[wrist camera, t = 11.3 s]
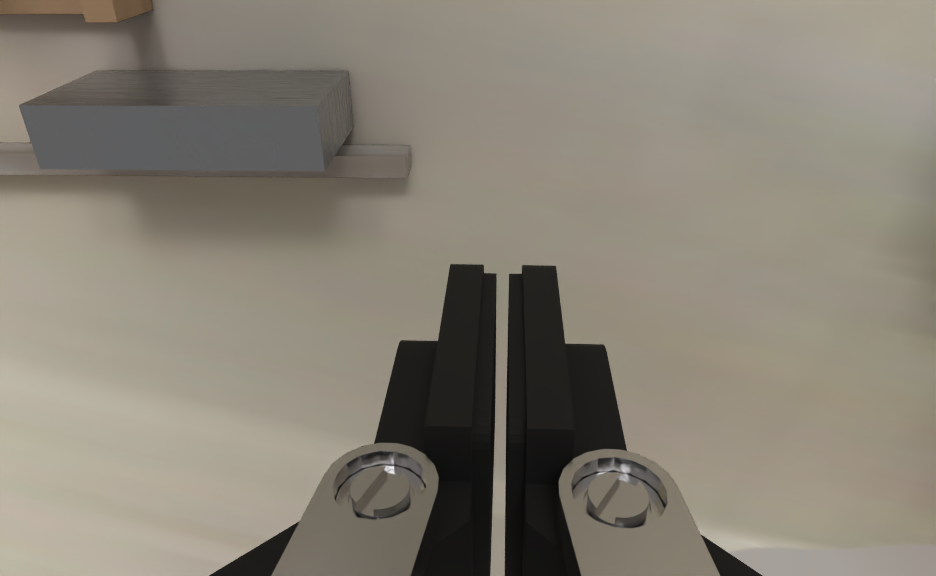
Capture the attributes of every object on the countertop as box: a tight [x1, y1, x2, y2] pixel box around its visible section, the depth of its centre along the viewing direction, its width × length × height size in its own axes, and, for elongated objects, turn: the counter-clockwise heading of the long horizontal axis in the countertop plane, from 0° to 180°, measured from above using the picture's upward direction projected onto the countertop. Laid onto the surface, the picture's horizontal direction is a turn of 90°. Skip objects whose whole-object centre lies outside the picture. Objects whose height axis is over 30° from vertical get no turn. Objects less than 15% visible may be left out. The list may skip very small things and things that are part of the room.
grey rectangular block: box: [19, 71, 353, 171], centre depth 23 cm, size 2×9×4 cm, turn 91°
